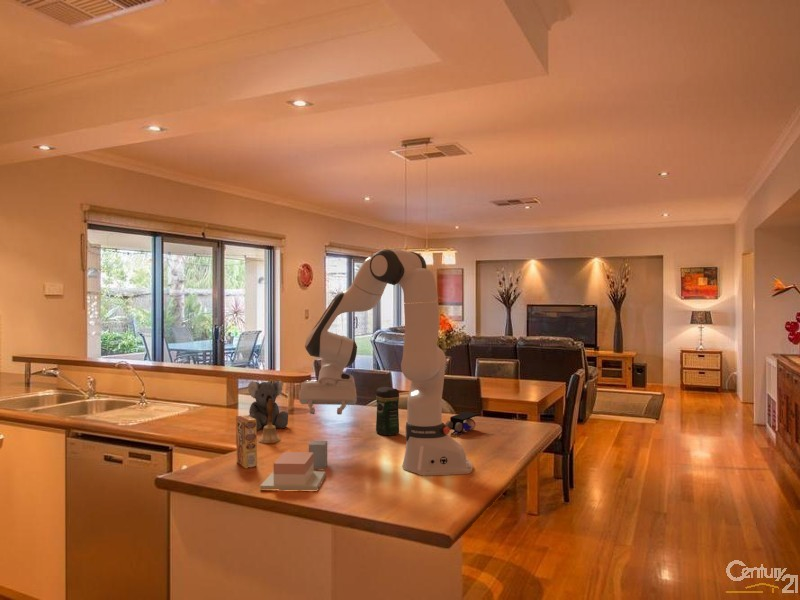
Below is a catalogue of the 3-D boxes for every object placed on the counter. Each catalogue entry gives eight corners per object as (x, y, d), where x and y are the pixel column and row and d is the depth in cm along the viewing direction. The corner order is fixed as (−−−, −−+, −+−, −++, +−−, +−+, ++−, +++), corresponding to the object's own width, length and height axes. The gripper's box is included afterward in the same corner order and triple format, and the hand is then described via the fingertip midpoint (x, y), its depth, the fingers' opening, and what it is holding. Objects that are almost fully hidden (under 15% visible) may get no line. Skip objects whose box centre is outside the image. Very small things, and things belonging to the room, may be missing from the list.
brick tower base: (325, 476, 174) (325, 451, 174) (316, 491, 160) (316, 465, 160) (273, 475, 175) (273, 451, 175) (260, 490, 161) (260, 464, 161)
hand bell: (273, 437, 223) (273, 396, 223) (284, 440, 217) (285, 398, 217) (254, 440, 217) (254, 398, 217) (265, 444, 212) (265, 401, 212)
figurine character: (459, 441, 223) (479, 429, 235) (458, 422, 222) (478, 411, 234) (445, 438, 228) (465, 427, 239) (443, 419, 227) (464, 409, 238)
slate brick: (327, 465, 186) (327, 440, 186) (324, 470, 181) (324, 444, 181) (312, 465, 186) (312, 440, 186) (308, 469, 181) (308, 444, 181)
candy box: (257, 466, 184) (257, 419, 184) (244, 468, 182) (244, 420, 182) (247, 460, 191) (247, 414, 191) (235, 462, 189) (235, 416, 189)
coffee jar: (402, 434, 228) (402, 387, 228) (385, 437, 223) (385, 389, 223) (389, 429, 236) (389, 384, 235) (372, 432, 231) (372, 386, 231)
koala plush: (247, 432, 231) (247, 384, 231) (240, 423, 248) (240, 378, 247) (290, 428, 238) (290, 381, 238) (280, 420, 255) (280, 376, 255)
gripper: (300, 375, 204) (294, 407, 195) (357, 375, 203) (353, 408, 194) (303, 385, 209) (297, 418, 199) (358, 386, 208) (355, 418, 198)
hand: (325, 413), depth 196 cm, fingers open, 8 cm apart
